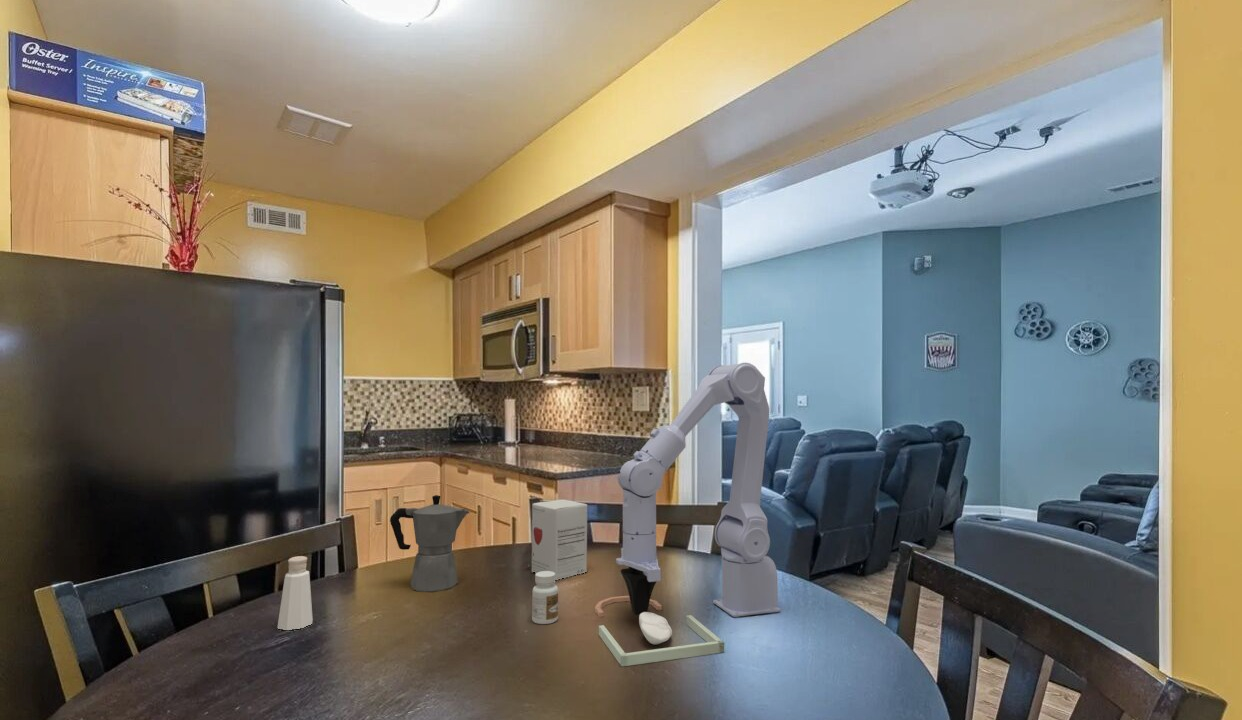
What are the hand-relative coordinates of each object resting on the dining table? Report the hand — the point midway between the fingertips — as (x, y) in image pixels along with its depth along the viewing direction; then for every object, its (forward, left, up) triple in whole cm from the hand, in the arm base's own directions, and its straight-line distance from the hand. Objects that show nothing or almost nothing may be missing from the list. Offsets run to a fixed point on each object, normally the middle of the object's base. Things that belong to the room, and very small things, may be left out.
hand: (639, 613), depth 100 cm
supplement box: (+7, -33, -2) cm, 34 cm away
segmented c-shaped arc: (0, -8, -2) cm, 8 cm away
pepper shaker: (+55, -16, -2) cm, 57 cm away
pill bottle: (+15, -6, -2) cm, 16 cm away
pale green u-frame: (0, +9, -2) cm, 9 cm away
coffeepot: (+34, -32, -2) cm, 47 cm away
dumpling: (0, +8, -2) cm, 8 cm away
